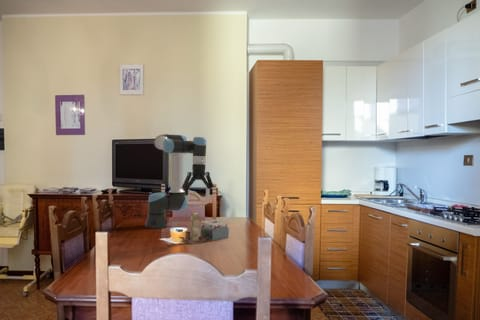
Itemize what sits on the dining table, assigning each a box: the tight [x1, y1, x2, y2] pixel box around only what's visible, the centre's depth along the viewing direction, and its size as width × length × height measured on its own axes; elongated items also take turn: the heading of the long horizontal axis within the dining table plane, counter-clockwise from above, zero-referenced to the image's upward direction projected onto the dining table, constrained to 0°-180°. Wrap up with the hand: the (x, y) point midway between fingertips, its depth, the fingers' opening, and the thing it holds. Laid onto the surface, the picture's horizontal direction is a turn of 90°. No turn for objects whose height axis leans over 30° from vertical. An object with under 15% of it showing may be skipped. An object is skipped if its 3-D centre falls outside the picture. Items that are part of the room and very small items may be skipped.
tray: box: [182, 236, 207, 245], centre depth 177 cm, size 10×10×2 cm
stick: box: [189, 212, 200, 241], centre depth 177 cm, size 3×3×16 cm
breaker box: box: [199, 218, 230, 242], centre depth 188 cm, size 12×12×10 cm
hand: (197, 200), depth 182 cm, fingers open, 13 cm apart
